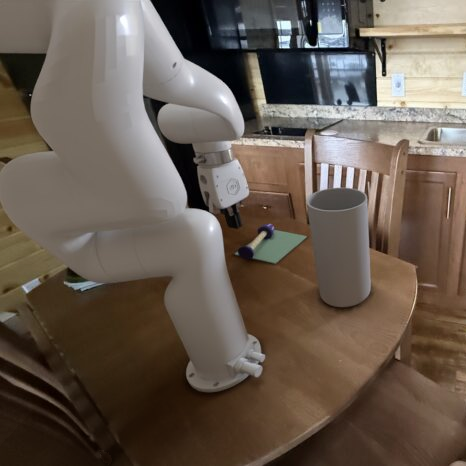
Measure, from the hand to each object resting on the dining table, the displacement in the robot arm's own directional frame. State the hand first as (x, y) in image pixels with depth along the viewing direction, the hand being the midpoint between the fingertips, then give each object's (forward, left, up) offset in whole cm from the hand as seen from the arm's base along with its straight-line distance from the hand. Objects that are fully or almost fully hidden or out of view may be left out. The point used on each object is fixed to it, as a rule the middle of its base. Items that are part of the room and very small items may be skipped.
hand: (235, 226), depth 81 cm
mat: (0, -11, -12) cm, 17 cm away
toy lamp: (0, -1, -9) cm, 9 cm away
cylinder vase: (-31, +1, -12) cm, 33 cm away
